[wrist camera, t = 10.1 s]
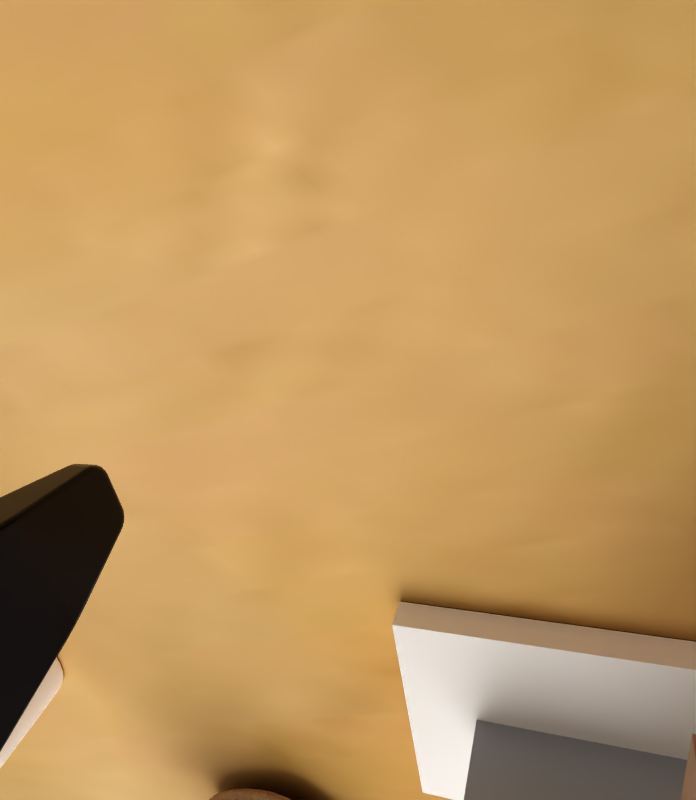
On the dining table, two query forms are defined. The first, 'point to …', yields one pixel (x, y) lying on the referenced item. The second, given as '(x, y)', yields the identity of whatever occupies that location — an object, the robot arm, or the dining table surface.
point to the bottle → (34, 708)
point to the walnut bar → (690, 773)
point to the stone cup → (248, 795)
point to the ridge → (544, 707)
